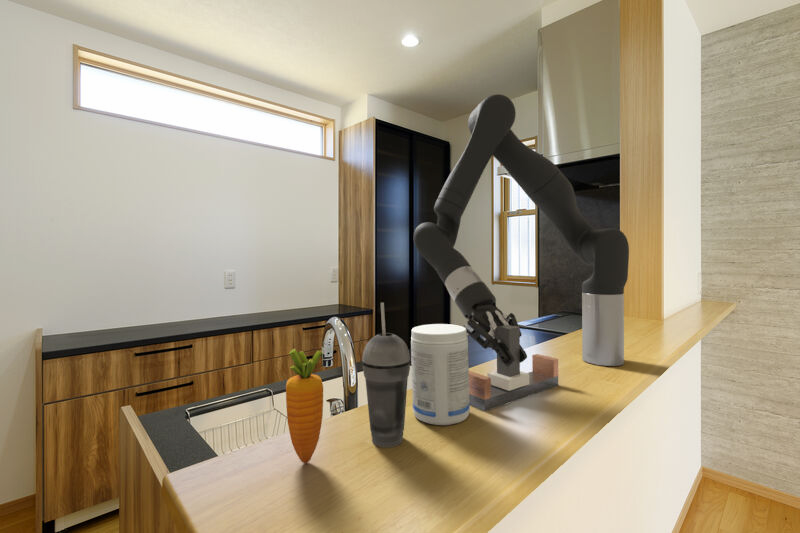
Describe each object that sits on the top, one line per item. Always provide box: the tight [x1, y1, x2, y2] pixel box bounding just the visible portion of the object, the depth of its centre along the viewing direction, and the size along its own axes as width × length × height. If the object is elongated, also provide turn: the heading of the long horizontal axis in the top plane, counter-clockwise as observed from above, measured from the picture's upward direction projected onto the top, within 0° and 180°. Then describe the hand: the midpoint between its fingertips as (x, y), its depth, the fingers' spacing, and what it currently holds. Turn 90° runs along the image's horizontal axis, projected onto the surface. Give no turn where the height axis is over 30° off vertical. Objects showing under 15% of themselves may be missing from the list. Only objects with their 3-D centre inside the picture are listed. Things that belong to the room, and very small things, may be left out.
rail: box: [469, 353, 559, 412], centre depth 72 cm, size 22×5×6 cm, turn 125°
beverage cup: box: [360, 302, 412, 449], centre depth 54 cm, size 7×7×20 cm
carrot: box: [285, 348, 324, 464], centre depth 48 cm, size 5×5×15 cm
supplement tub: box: [410, 323, 471, 426], centre depth 63 cm, size 10×10×15 cm
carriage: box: [487, 325, 529, 391], centre depth 71 cm, size 6×5×11 cm
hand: (517, 361), depth 70 cm, fingers closed on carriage, 3 cm apart
